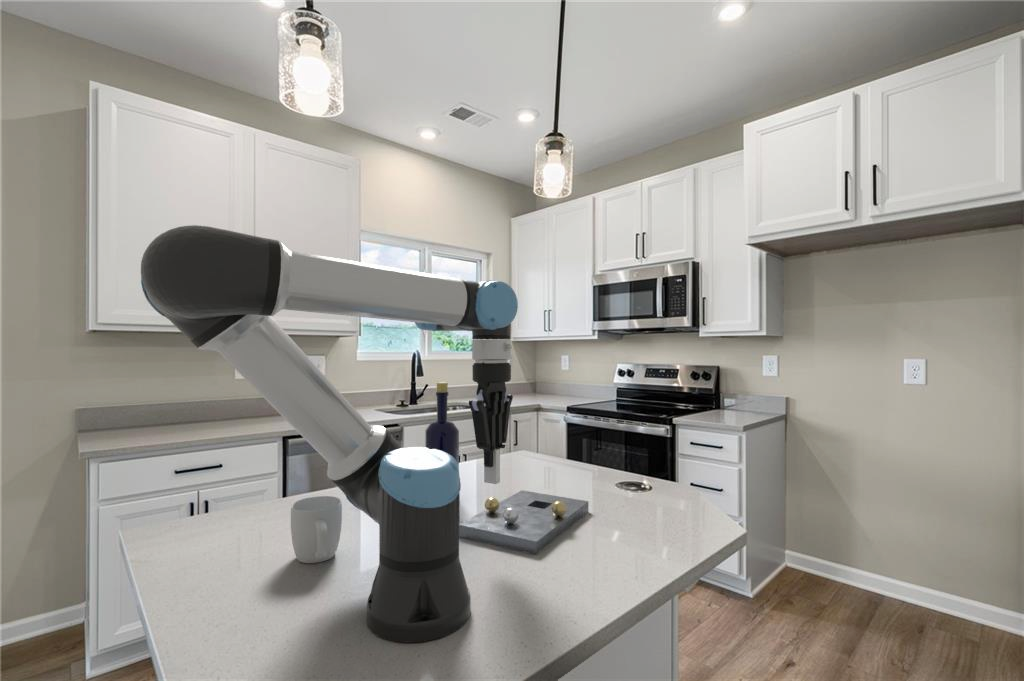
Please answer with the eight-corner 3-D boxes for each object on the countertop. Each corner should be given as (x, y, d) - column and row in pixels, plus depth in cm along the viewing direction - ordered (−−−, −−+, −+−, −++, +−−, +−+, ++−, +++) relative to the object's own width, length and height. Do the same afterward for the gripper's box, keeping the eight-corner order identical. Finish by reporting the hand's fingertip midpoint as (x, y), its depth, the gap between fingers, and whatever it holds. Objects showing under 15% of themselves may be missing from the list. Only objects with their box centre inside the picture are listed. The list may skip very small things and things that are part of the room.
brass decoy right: (562, 519, 106) (562, 504, 106) (549, 517, 108) (549, 502, 108) (568, 515, 109) (568, 500, 109) (555, 512, 111) (555, 498, 111)
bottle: (462, 495, 132) (463, 381, 132) (455, 506, 123) (456, 384, 123) (428, 493, 133) (429, 381, 133) (418, 504, 124) (419, 383, 124)
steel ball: (513, 527, 102) (513, 511, 102) (500, 524, 103) (500, 508, 103) (520, 522, 105) (521, 507, 105) (507, 519, 106) (507, 504, 106)
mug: (288, 552, 95) (288, 500, 95) (337, 543, 99) (337, 493, 100) (295, 580, 84) (295, 520, 84) (349, 568, 88) (350, 512, 88)
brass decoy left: (494, 515, 109) (494, 500, 109) (482, 513, 110) (482, 498, 110) (501, 511, 112) (501, 496, 112) (489, 508, 113) (489, 494, 113)
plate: (536, 554, 94) (536, 541, 94) (458, 536, 103) (458, 524, 103) (588, 511, 119) (588, 501, 119) (521, 500, 128) (521, 490, 128)
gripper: (490, 363, 90) (491, 494, 90) (524, 360, 101) (524, 476, 101) (456, 362, 94) (456, 488, 93) (492, 360, 105) (493, 472, 105)
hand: (492, 482), depth 97 cm, fingers closed
